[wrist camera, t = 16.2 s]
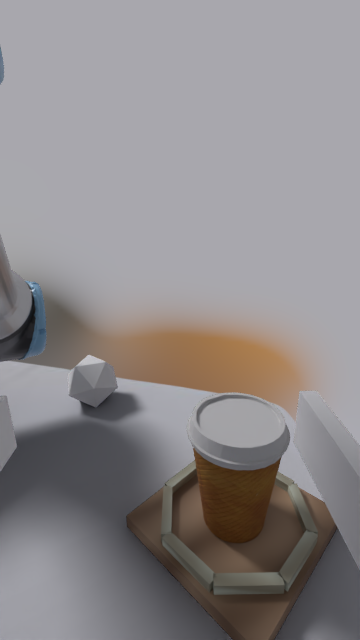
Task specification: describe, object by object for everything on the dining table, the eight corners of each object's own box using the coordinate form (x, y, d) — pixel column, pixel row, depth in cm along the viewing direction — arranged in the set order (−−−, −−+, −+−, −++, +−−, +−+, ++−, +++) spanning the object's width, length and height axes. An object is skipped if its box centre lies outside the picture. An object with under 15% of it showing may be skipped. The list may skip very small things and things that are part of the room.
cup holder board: (127, 526, 34) (125, 508, 33) (220, 451, 45) (220, 436, 44) (258, 666, 23) (260, 644, 23) (339, 523, 34) (343, 504, 33)
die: (128, 401, 59) (120, 351, 62) (101, 402, 51) (93, 344, 54) (91, 411, 61) (85, 362, 64) (59, 414, 53) (54, 357, 56)
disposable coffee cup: (269, 480, 38) (277, 390, 34) (291, 563, 29) (305, 453, 25) (188, 478, 38) (187, 389, 35) (186, 558, 29) (184, 450, 26)
